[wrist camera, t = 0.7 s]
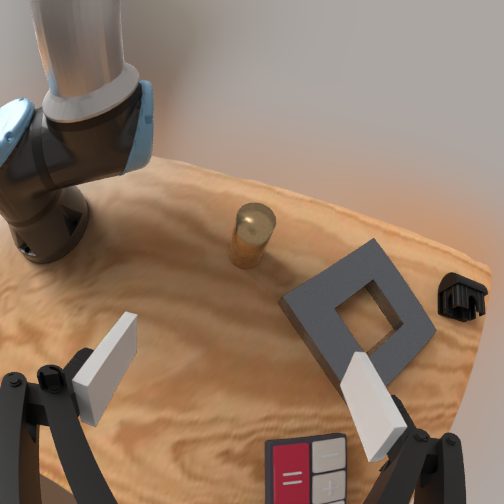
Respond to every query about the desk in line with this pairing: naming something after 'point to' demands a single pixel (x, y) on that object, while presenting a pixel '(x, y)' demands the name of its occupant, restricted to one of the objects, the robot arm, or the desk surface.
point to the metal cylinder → (251, 234)
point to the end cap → (460, 297)
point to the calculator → (306, 470)
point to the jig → (335, 331)
